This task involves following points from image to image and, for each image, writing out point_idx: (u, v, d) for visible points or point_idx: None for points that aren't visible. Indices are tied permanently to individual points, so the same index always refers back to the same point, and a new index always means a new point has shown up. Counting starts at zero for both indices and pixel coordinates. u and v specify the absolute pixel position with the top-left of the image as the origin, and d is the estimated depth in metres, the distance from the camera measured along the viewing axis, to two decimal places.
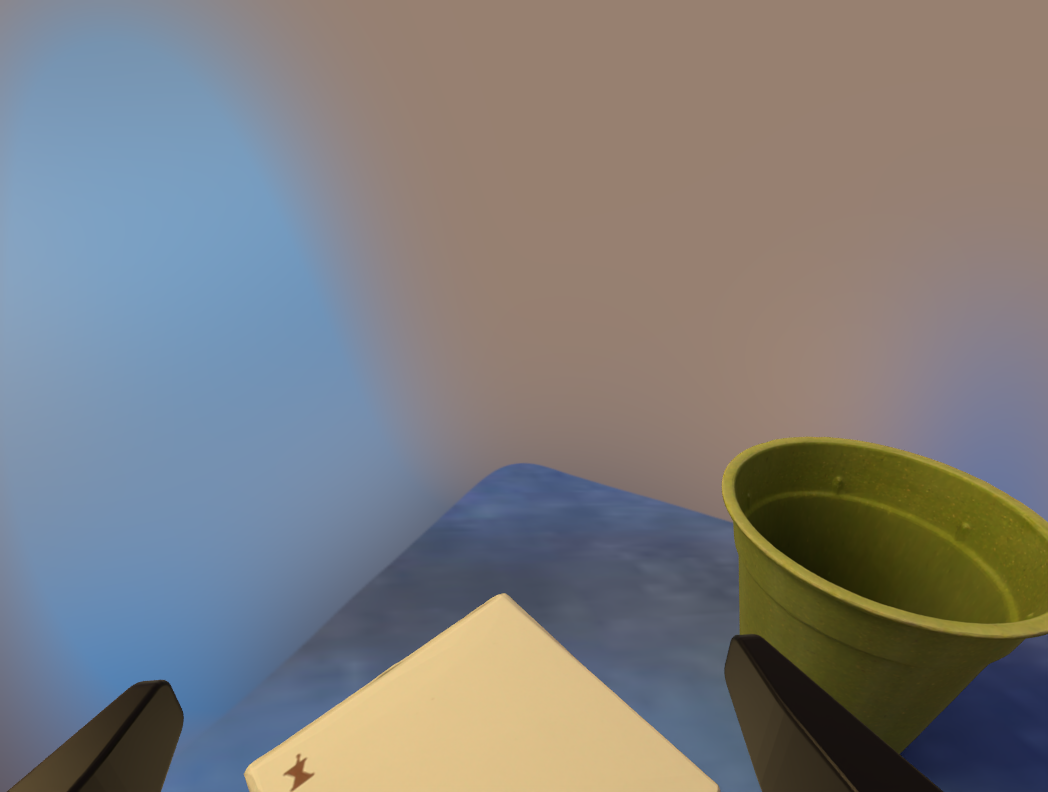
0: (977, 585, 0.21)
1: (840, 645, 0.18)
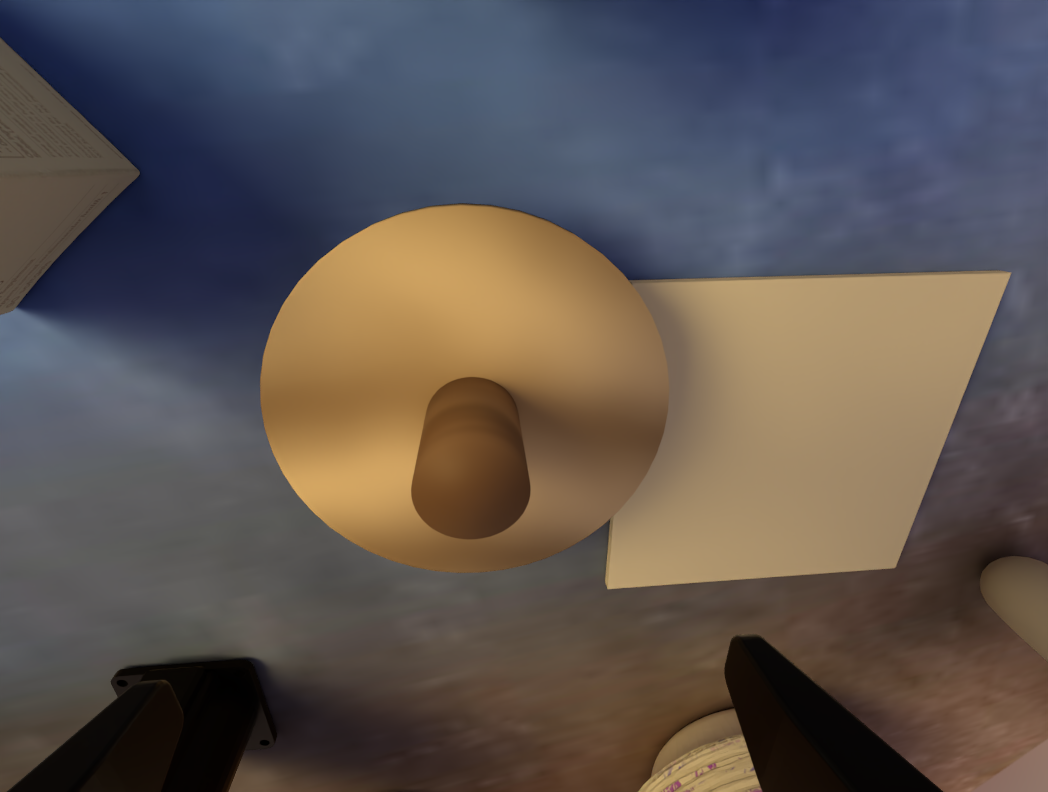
0: None
1: None
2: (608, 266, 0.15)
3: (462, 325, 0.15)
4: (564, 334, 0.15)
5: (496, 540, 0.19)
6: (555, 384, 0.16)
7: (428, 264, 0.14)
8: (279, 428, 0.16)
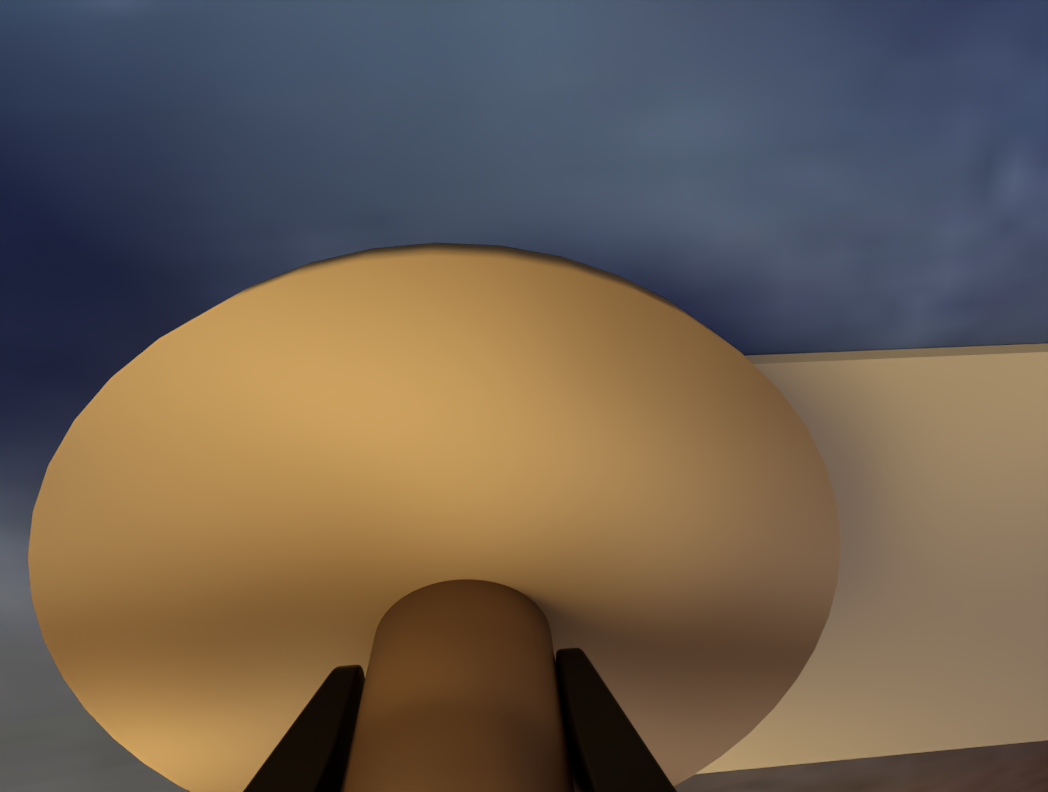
0: None
1: None
2: (751, 376, 0.07)
3: (441, 494, 0.07)
4: (647, 503, 0.08)
5: None
6: (624, 585, 0.08)
7: (361, 381, 0.06)
8: (90, 673, 0.08)
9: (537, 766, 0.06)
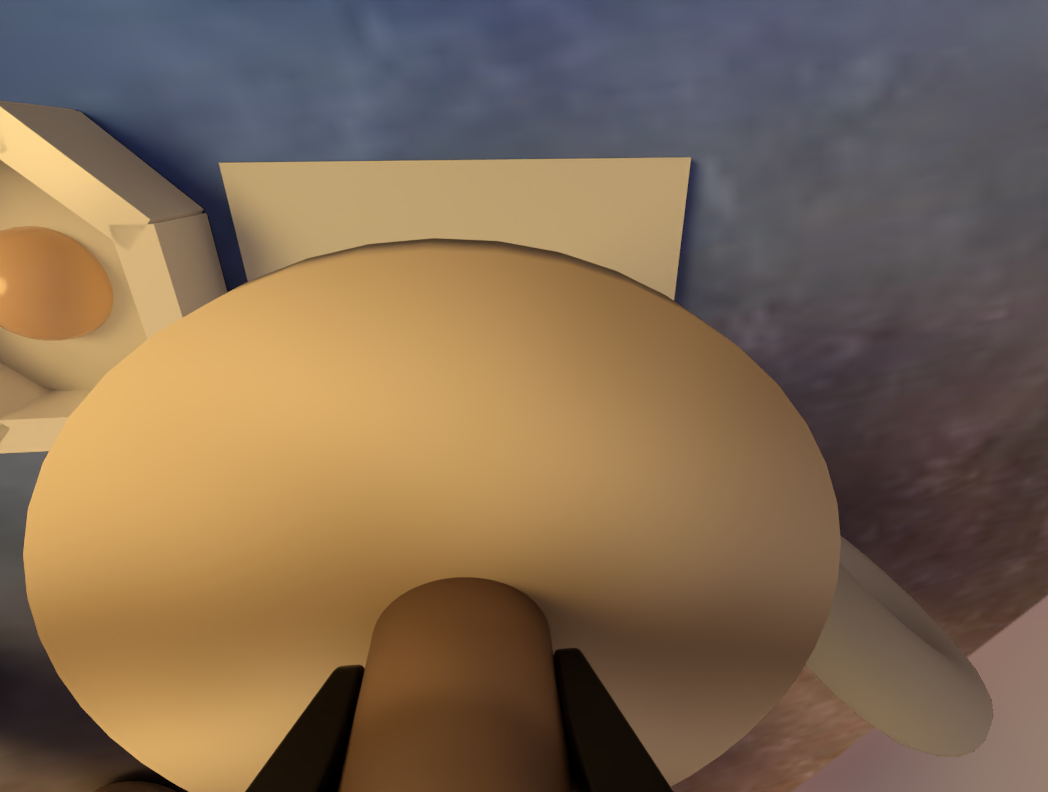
0: None
1: None
2: (750, 373, 0.07)
3: (439, 491, 0.07)
4: (647, 500, 0.08)
5: None
6: (623, 583, 0.08)
7: (358, 377, 0.06)
8: (86, 672, 0.08)
9: (535, 764, 0.06)
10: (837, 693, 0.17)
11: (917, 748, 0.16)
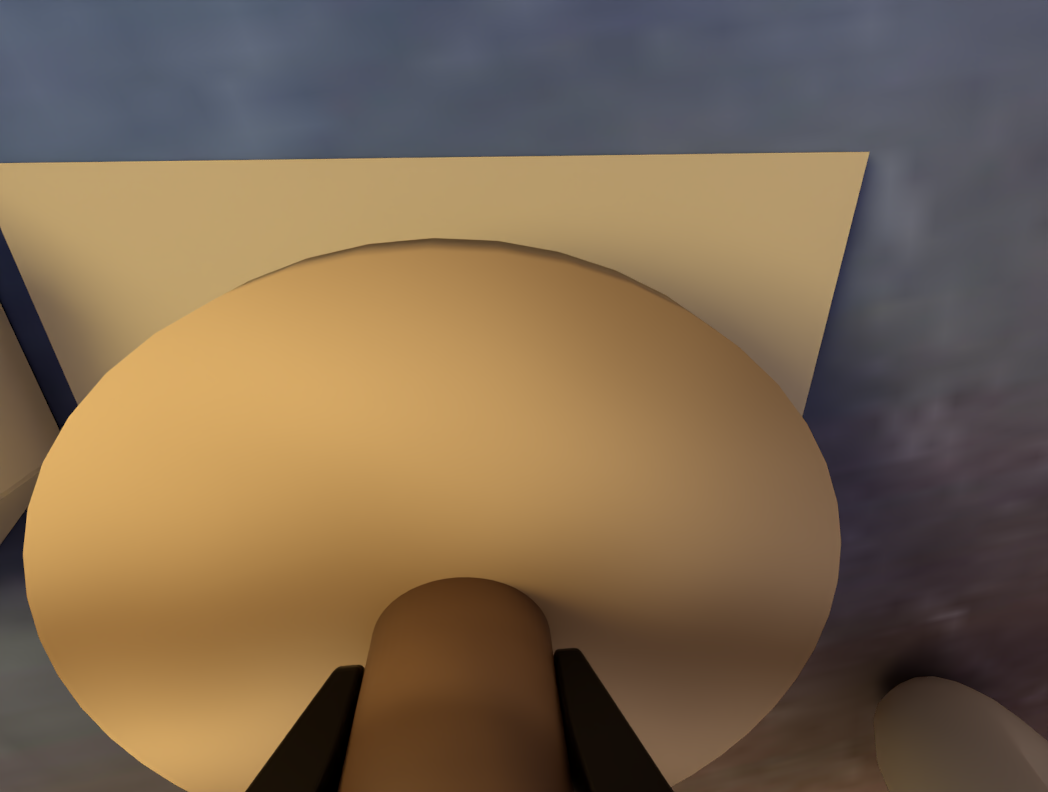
0: None
1: None
2: (750, 372, 0.07)
3: (439, 491, 0.07)
4: (647, 500, 0.08)
5: None
6: (623, 583, 0.08)
7: (357, 377, 0.06)
8: (86, 672, 0.08)
9: (535, 765, 0.06)
10: None
11: None
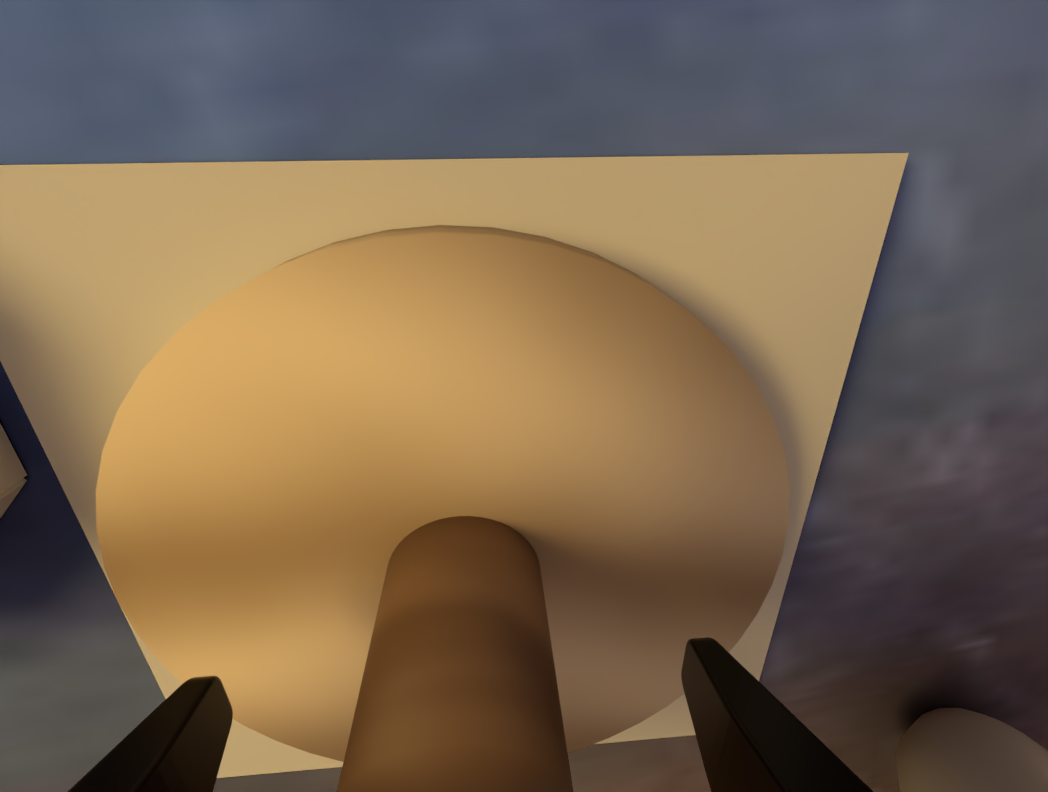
0: None
1: None
2: (704, 337, 0.08)
3: (445, 438, 0.09)
4: (621, 449, 0.09)
5: None
6: (603, 523, 0.10)
7: (379, 340, 0.08)
8: (142, 599, 0.10)
9: (524, 650, 0.07)
10: None
11: None
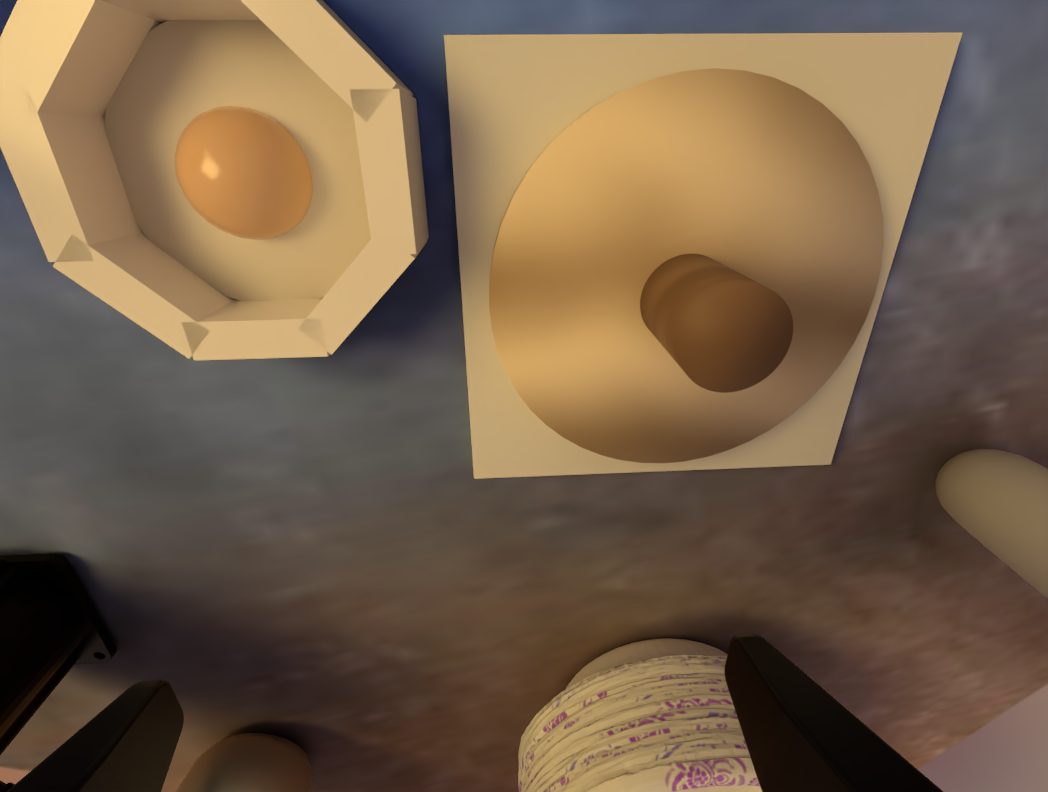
0: None
1: None
2: (845, 136, 0.15)
3: (693, 198, 0.15)
4: (789, 209, 0.16)
5: (684, 429, 0.19)
6: (771, 263, 0.16)
7: (672, 132, 0.15)
8: (502, 304, 0.17)
9: None
10: None
11: None
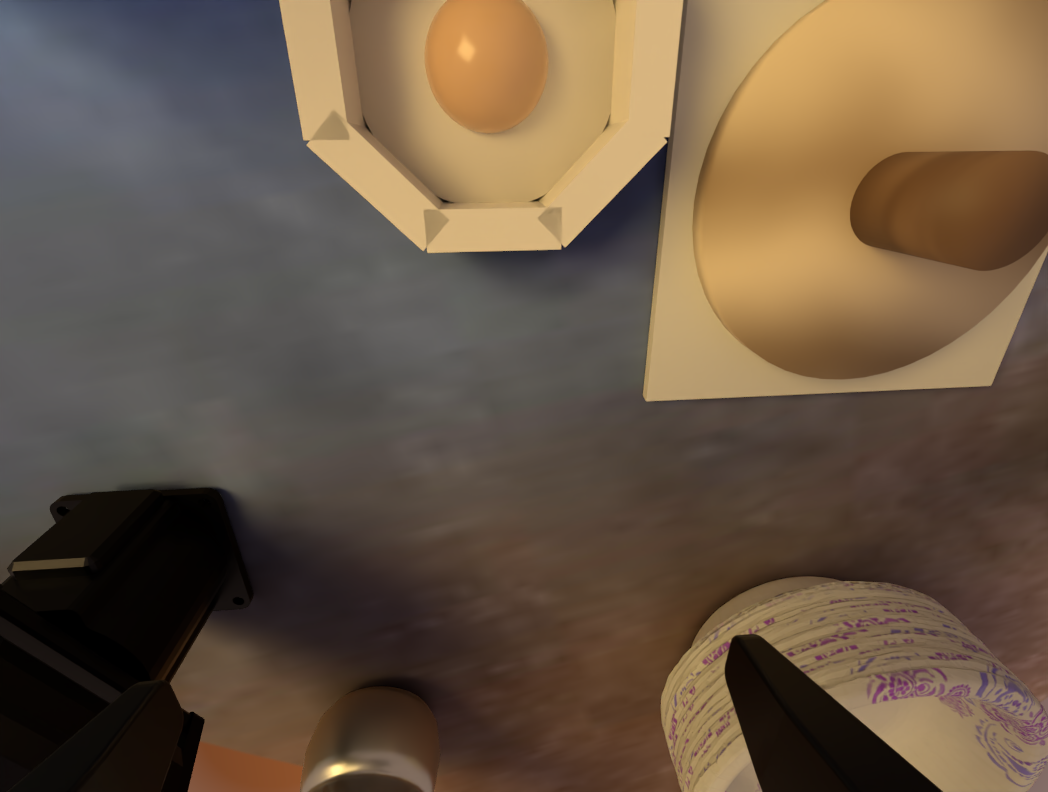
0: None
1: None
2: None
3: (921, 92, 0.16)
4: (1008, 106, 0.16)
5: (869, 342, 0.19)
6: None
7: (913, 20, 0.15)
8: (718, 204, 0.17)
9: None
10: None
11: None
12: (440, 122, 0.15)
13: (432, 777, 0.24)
